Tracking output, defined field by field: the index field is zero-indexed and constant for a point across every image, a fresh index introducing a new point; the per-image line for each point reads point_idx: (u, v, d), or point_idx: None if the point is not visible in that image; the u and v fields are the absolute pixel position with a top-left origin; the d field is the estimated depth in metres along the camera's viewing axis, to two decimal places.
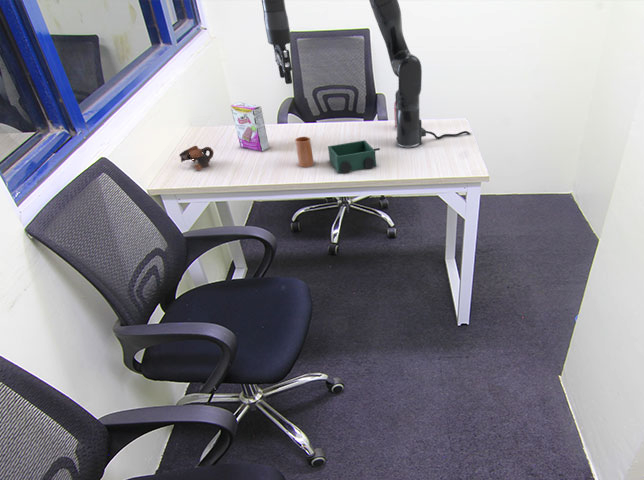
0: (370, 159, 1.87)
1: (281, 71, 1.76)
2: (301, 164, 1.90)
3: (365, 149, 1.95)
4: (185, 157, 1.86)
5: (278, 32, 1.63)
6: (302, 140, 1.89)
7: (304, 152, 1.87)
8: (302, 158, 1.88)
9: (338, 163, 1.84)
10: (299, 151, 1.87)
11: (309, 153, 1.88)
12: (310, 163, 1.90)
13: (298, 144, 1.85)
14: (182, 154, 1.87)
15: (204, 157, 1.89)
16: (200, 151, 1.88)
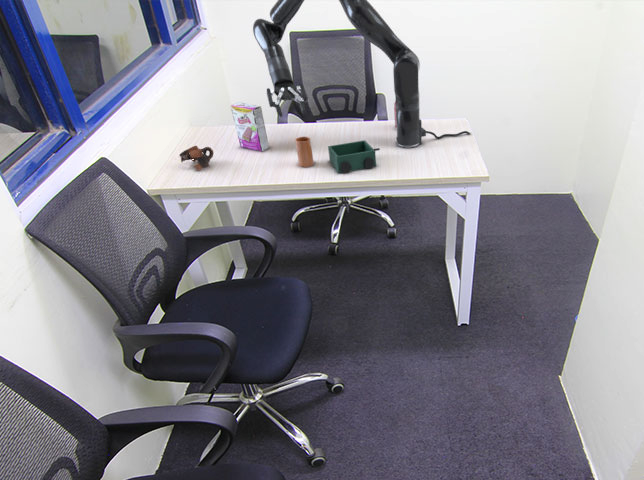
0: (370, 159, 1.87)
1: (301, 108, 1.92)
2: (301, 164, 1.90)
3: (365, 149, 1.95)
4: (185, 157, 1.86)
5: (271, 78, 1.90)
6: (302, 140, 1.89)
7: (304, 152, 1.87)
8: (302, 158, 1.88)
9: (338, 163, 1.84)
10: (299, 151, 1.87)
11: (309, 153, 1.88)
12: (310, 163, 1.90)
13: (298, 144, 1.85)
14: (182, 154, 1.87)
15: (204, 157, 1.89)
16: (200, 151, 1.88)
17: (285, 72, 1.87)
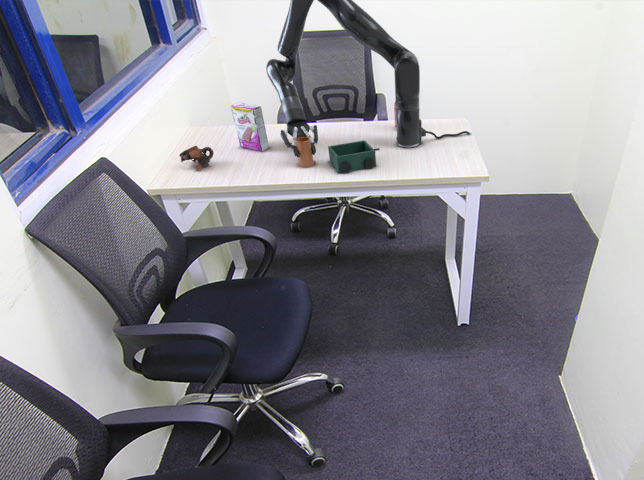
0: (370, 159, 1.87)
1: None
2: (301, 164, 1.90)
3: (365, 149, 1.95)
4: (185, 157, 1.86)
5: (284, 117, 1.88)
6: (302, 140, 1.89)
7: (304, 152, 1.87)
8: (302, 158, 1.88)
9: (338, 163, 1.84)
10: (299, 151, 1.87)
11: (309, 153, 1.88)
12: (310, 163, 1.90)
13: (298, 144, 1.85)
14: (182, 154, 1.87)
15: (204, 157, 1.89)
16: (200, 151, 1.88)
17: (298, 111, 1.86)
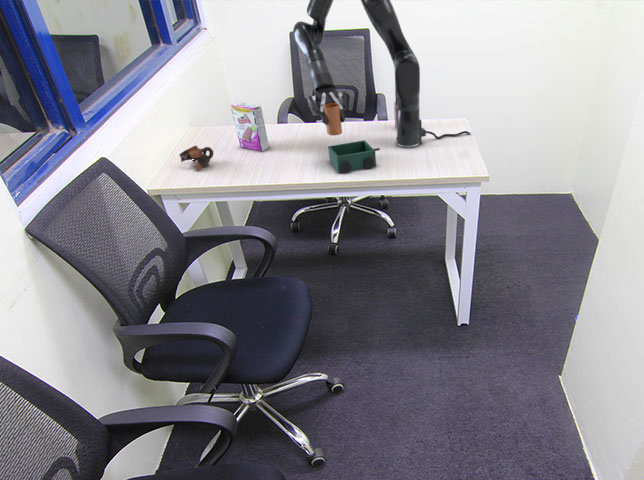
0: (370, 159, 1.87)
1: None
2: (329, 132, 1.82)
3: (365, 149, 1.95)
4: (185, 157, 1.86)
5: None
6: (330, 107, 1.81)
7: (333, 119, 1.79)
8: (331, 125, 1.80)
9: (338, 163, 1.84)
10: (328, 118, 1.79)
11: (338, 120, 1.80)
12: (339, 130, 1.82)
13: (327, 110, 1.77)
14: (182, 154, 1.87)
15: (204, 157, 1.89)
16: (200, 151, 1.88)
17: (327, 76, 1.78)
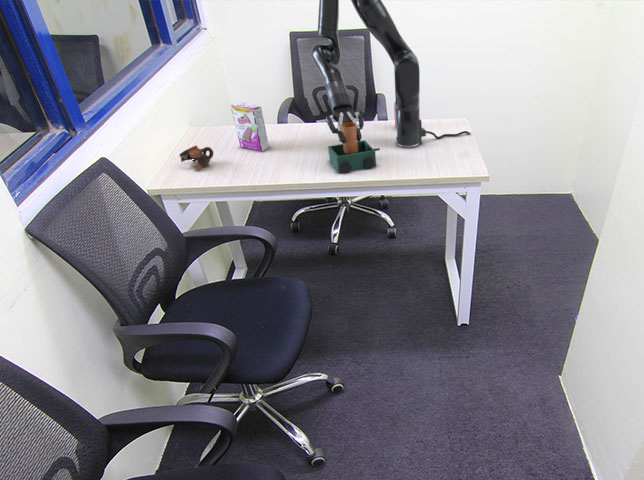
0: (370, 159, 1.87)
1: None
2: (346, 150, 1.87)
3: (365, 149, 1.95)
4: (185, 157, 1.86)
5: (329, 102, 1.85)
6: (347, 126, 1.85)
7: (350, 138, 1.83)
8: (348, 144, 1.85)
9: (338, 163, 1.84)
10: (345, 137, 1.83)
11: (355, 139, 1.84)
12: (355, 149, 1.87)
13: (344, 130, 1.82)
14: (182, 154, 1.87)
15: (204, 157, 1.89)
16: (200, 151, 1.88)
17: (344, 96, 1.82)
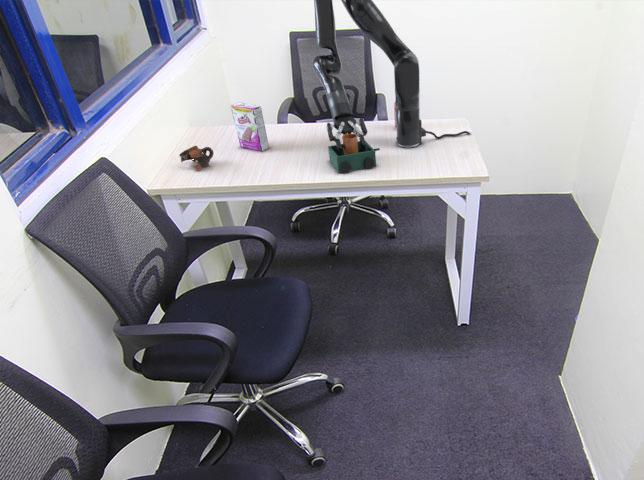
0: (370, 159, 1.87)
1: (360, 142, 1.89)
2: None
3: (365, 149, 1.95)
4: (185, 157, 1.86)
5: None
6: (348, 137, 1.88)
7: (351, 149, 1.86)
8: None
9: (338, 163, 1.84)
10: (346, 148, 1.86)
11: (356, 150, 1.87)
12: None
13: (345, 141, 1.84)
14: (182, 154, 1.87)
15: (204, 157, 1.89)
16: (200, 151, 1.88)
17: (345, 106, 1.85)
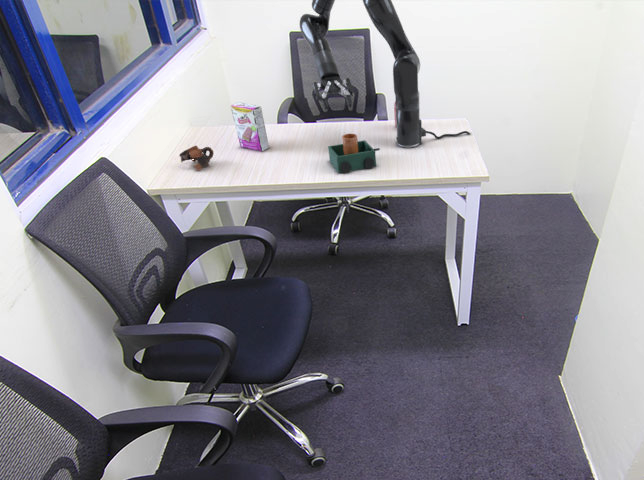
0: (370, 159, 1.87)
1: (347, 102, 1.91)
2: None
3: (365, 149, 1.95)
4: (185, 157, 1.86)
5: (317, 71, 1.89)
6: (348, 137, 1.88)
7: (351, 149, 1.86)
8: None
9: (338, 163, 1.84)
10: (346, 148, 1.86)
11: (356, 150, 1.87)
12: None
13: (345, 141, 1.84)
14: (182, 154, 1.87)
15: (204, 157, 1.89)
16: (200, 151, 1.88)
17: (332, 66, 1.87)
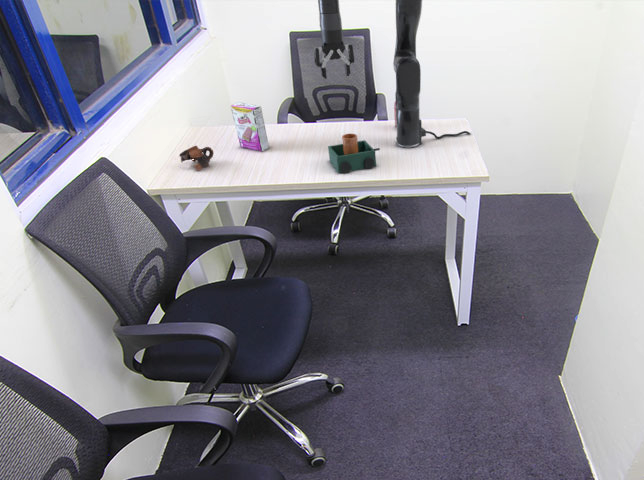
0: (370, 159, 1.87)
1: (345, 69, 1.89)
2: None
3: (365, 149, 1.95)
4: (185, 157, 1.86)
5: None
6: (348, 137, 1.88)
7: (351, 149, 1.86)
8: None
9: (338, 163, 1.84)
10: (346, 148, 1.86)
11: (356, 150, 1.87)
12: None
13: (345, 141, 1.84)
14: (182, 154, 1.87)
15: (204, 157, 1.89)
16: (200, 151, 1.88)
17: (338, 35, 1.77)
